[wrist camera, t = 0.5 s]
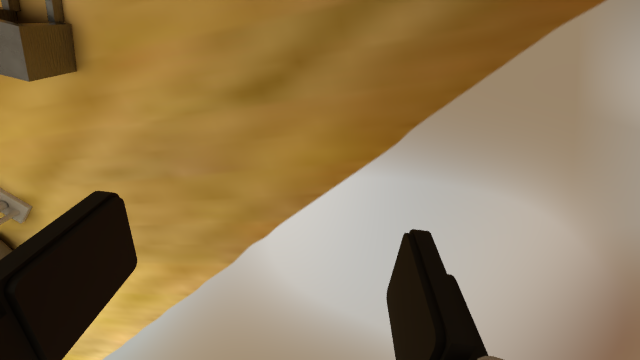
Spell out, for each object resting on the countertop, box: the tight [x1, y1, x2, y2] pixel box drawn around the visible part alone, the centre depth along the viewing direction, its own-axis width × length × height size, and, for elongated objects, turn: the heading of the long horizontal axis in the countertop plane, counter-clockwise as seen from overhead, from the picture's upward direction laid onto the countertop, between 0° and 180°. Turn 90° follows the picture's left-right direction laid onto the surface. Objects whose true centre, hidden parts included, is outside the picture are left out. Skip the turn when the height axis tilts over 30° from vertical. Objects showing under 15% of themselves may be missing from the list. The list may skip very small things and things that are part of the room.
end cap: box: [0, 7, 77, 82], centre depth 38 cm, size 6×8×8 cm
